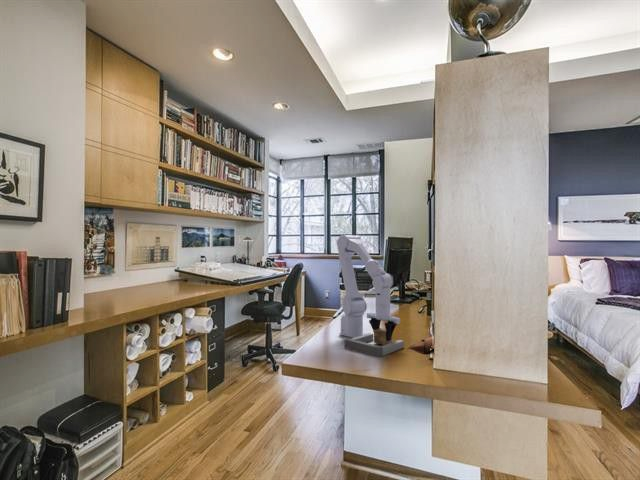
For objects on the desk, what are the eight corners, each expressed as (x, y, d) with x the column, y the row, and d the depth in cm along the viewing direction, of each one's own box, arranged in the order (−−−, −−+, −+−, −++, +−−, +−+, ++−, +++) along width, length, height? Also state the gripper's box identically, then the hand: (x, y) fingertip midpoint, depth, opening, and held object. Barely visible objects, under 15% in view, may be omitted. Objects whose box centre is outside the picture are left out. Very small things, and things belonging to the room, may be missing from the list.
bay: (344, 347, 121) (344, 339, 121) (369, 339, 132) (369, 331, 132) (379, 357, 109) (379, 348, 110) (403, 347, 121) (403, 339, 121)
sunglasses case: (431, 339, 131) (438, 327, 129) (445, 352, 126) (453, 339, 124) (406, 348, 120) (413, 335, 117) (420, 362, 115) (428, 348, 112)
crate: (373, 342, 125) (373, 329, 125) (381, 340, 129) (381, 327, 129) (384, 345, 121) (384, 332, 122) (392, 342, 125) (392, 330, 125)
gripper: (362, 303, 128) (361, 337, 127) (393, 308, 118) (393, 345, 117) (372, 301, 133) (372, 334, 132) (403, 305, 123) (403, 341, 122)
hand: (382, 339), depth 125 cm, fingers closed on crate, 5 cm apart
